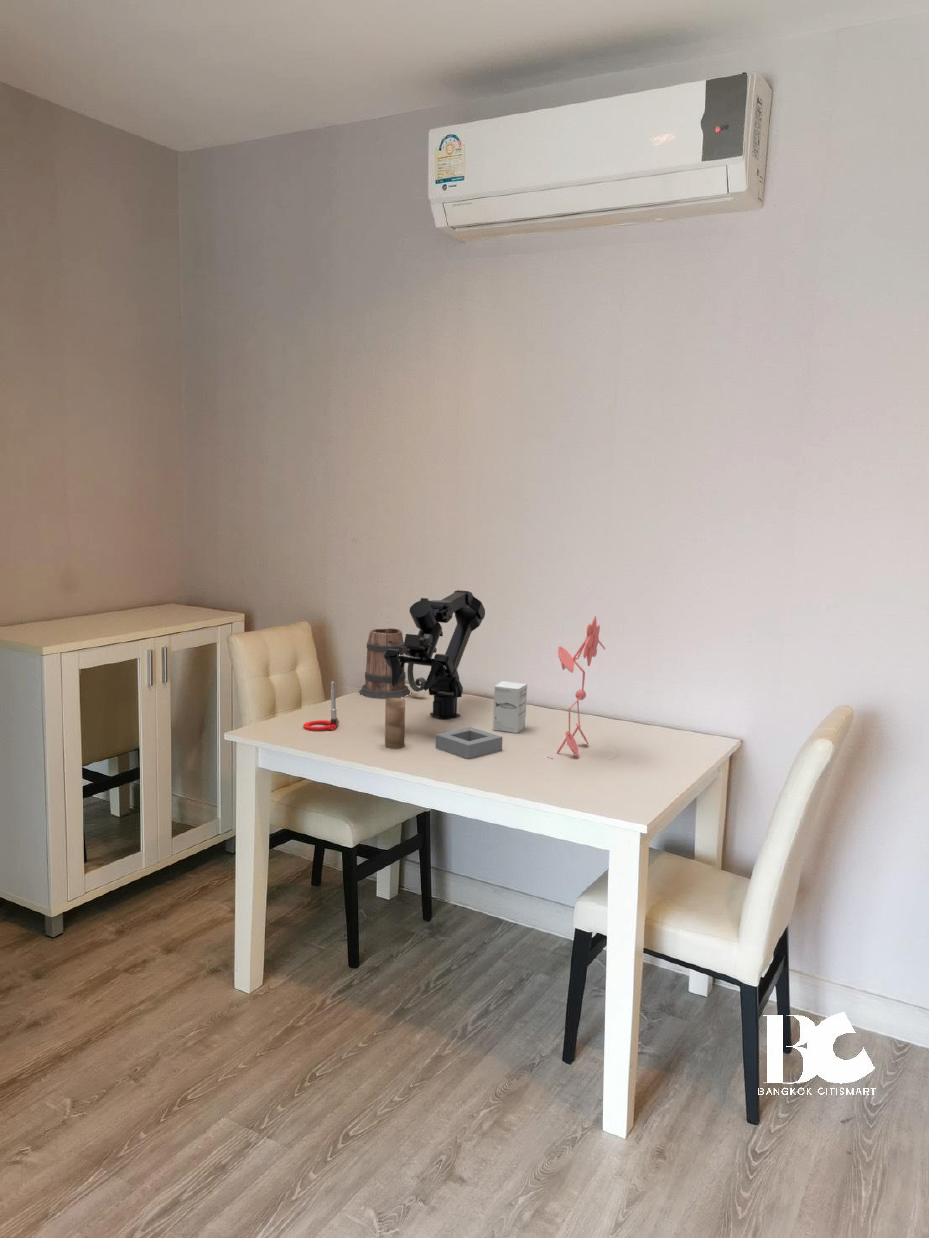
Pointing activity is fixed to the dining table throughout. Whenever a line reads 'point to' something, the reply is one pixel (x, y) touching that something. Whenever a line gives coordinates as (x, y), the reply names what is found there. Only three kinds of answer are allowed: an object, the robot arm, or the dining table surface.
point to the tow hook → (329, 724)
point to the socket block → (468, 742)
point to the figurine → (569, 662)
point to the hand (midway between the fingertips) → (408, 687)
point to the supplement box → (509, 706)
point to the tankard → (386, 667)
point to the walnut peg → (395, 723)
